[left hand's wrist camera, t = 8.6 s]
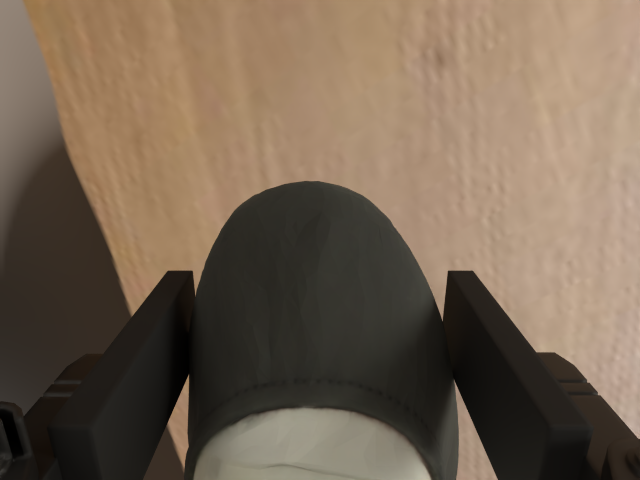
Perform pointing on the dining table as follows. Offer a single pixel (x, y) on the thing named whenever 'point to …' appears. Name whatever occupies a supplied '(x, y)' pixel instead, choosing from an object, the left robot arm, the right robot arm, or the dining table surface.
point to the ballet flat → (317, 348)
